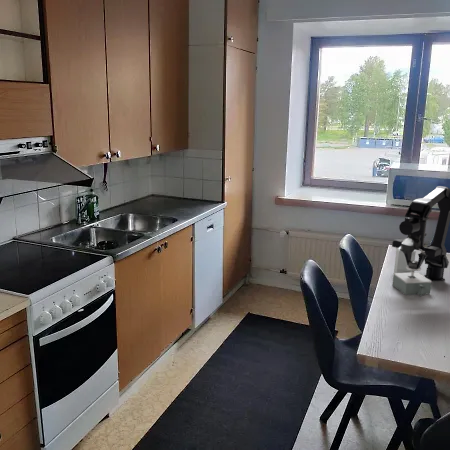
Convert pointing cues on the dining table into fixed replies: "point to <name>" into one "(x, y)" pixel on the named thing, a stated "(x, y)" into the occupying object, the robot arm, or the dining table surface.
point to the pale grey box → (412, 283)
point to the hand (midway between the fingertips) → (413, 266)
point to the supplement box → (402, 261)
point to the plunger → (412, 267)
